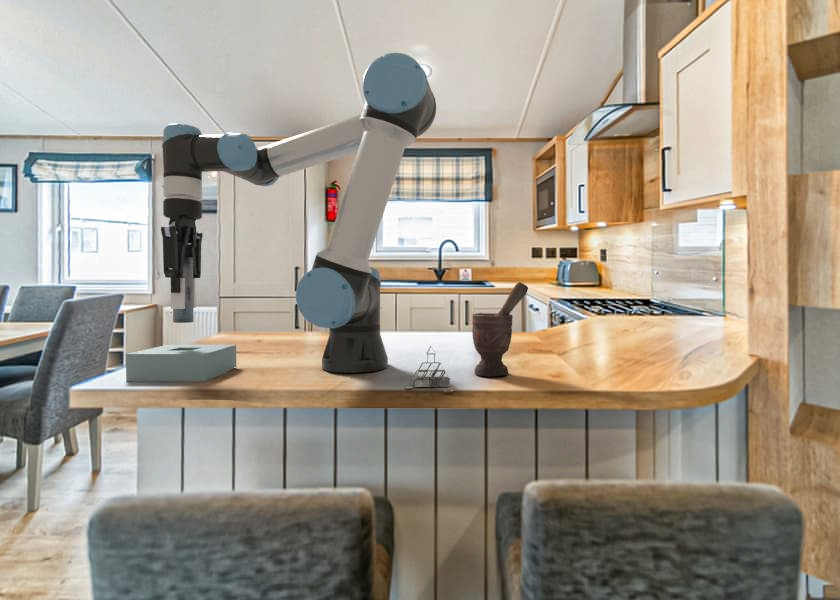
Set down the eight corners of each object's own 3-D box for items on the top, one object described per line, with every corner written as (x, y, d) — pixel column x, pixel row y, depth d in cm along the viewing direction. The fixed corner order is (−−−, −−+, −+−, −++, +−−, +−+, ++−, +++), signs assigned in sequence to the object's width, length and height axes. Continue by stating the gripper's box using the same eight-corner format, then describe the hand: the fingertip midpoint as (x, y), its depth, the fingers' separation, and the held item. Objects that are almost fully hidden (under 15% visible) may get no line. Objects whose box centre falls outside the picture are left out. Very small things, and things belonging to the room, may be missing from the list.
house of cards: (406, 392, 89) (406, 350, 89) (403, 383, 98) (403, 345, 98) (455, 391, 90) (455, 350, 90) (448, 382, 99) (448, 344, 99)
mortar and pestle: (523, 371, 110) (524, 282, 109) (529, 378, 101) (529, 281, 100) (471, 371, 111) (472, 282, 110) (472, 378, 102) (472, 281, 101)
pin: (197, 321, 108) (197, 257, 107) (184, 323, 104) (184, 256, 104) (182, 321, 109) (182, 258, 108) (168, 322, 105) (168, 257, 105)
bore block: (236, 368, 114) (236, 344, 114) (204, 381, 98) (204, 354, 98) (168, 368, 115) (168, 344, 115) (126, 381, 99) (125, 353, 99)
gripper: (185, 206, 114) (185, 306, 115) (142, 192, 97) (143, 310, 98) (217, 206, 114) (217, 306, 115) (179, 192, 97) (180, 310, 98)
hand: (183, 308), depth 106 cm, fingers closed on pin, 4 cm apart
